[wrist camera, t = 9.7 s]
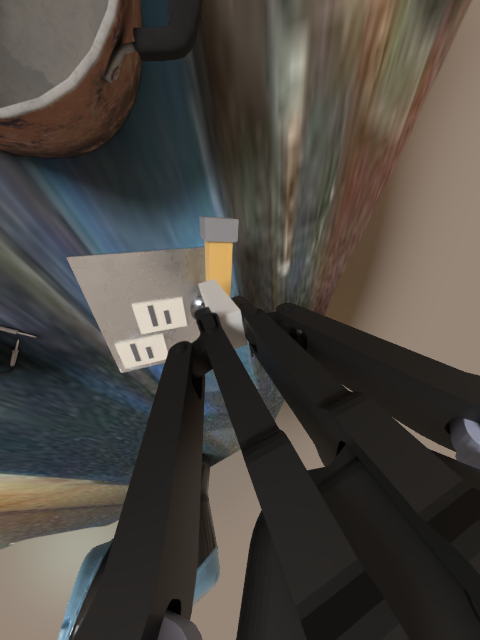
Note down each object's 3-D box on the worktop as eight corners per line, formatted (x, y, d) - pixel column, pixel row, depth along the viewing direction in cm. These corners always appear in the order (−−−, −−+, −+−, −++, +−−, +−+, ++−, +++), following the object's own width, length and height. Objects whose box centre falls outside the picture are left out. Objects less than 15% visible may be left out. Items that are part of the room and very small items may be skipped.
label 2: (169, 357, 34) (169, 358, 33) (125, 367, 32) (125, 369, 31) (163, 334, 31) (163, 335, 31) (115, 343, 29) (114, 345, 29)
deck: (223, 346, 38) (234, 370, 32) (121, 369, 32) (113, 403, 27) (215, 245, 28) (230, 255, 22) (69, 255, 23) (38, 271, 17)
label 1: (187, 324, 32) (187, 326, 31) (141, 332, 30) (141, 334, 29) (182, 297, 29) (182, 298, 29) (132, 304, 27) (131, 305, 27)
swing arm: (228, 337, 28) (234, 348, 26) (201, 341, 26) (205, 353, 24) (233, 218, 20) (242, 219, 18) (195, 215, 19) (200, 217, 17)
